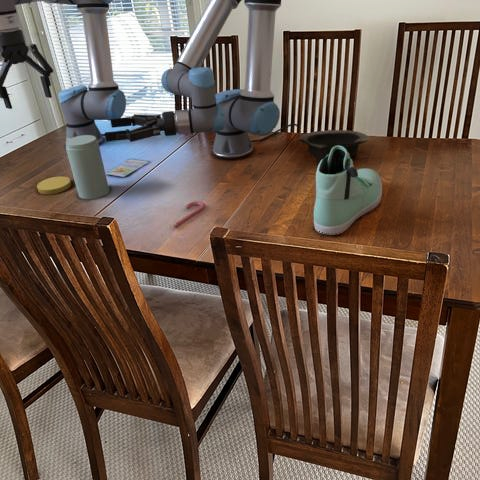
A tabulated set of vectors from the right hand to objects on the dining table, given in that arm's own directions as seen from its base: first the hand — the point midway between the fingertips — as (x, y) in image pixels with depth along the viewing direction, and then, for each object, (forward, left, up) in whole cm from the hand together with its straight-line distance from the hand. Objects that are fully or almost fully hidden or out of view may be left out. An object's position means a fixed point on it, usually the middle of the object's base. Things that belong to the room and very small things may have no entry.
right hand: (108, 129), depth 151 cm
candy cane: (-10, +32, -21) cm, 39 cm away
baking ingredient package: (-8, -16, -21) cm, 28 cm away
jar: (+8, -4, -21) cm, 23 cm away
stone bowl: (-72, +24, -21) cm, 79 cm away
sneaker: (-49, +57, -21) cm, 78 cm away
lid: (+18, -17, -19) cm, 32 cm away
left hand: (+18, -17, +9) cm, 27 cm away
